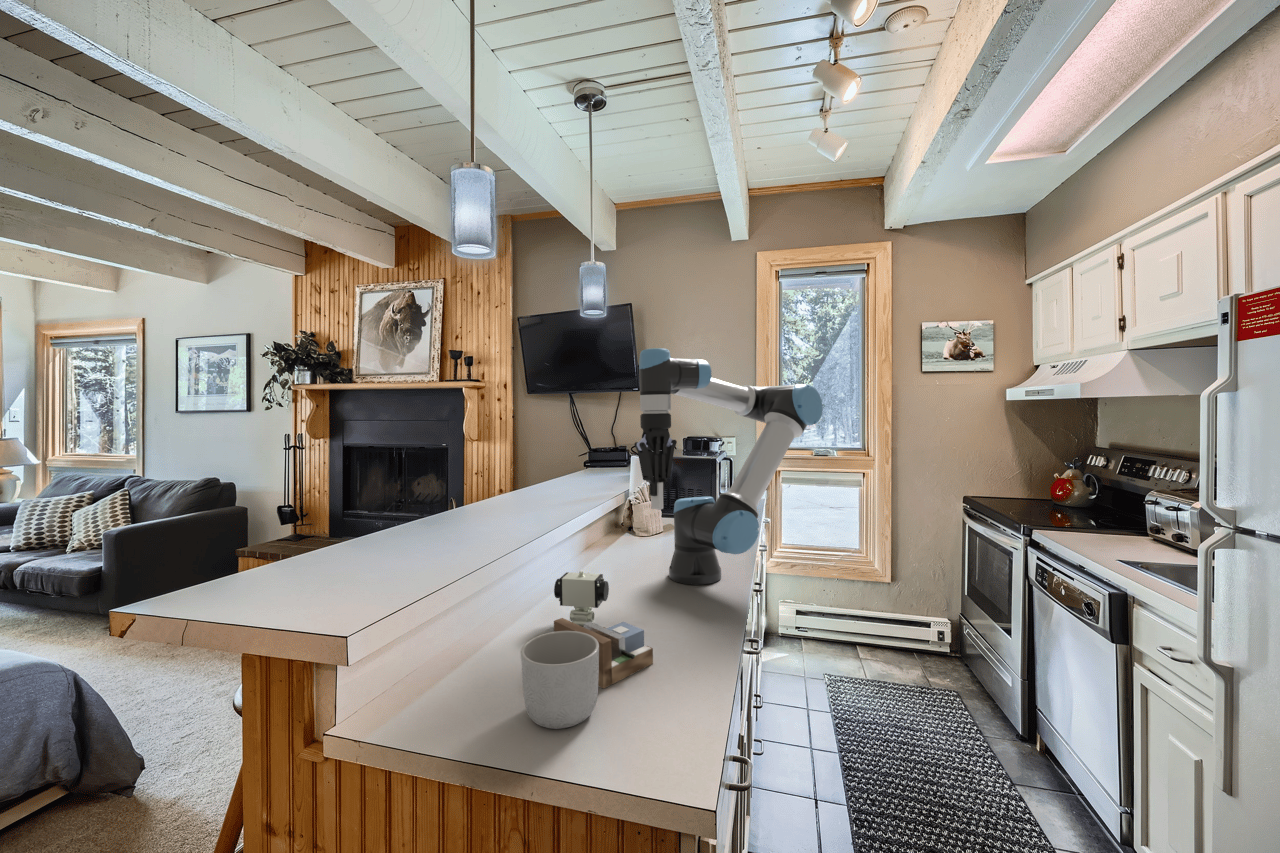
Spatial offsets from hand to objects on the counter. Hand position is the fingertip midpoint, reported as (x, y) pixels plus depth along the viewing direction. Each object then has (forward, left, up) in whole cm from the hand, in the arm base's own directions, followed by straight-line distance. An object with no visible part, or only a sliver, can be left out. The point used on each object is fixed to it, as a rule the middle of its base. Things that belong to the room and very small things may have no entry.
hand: (657, 508), depth 128 cm
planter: (+44, +20, -25) cm, 54 cm away
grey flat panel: (+28, +13, -24) cm, 39 cm away
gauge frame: (+28, +12, -24) cm, 39 cm away
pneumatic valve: (+19, -6, -25) cm, 32 cm away
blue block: (+24, +12, -25) cm, 36 cm away
